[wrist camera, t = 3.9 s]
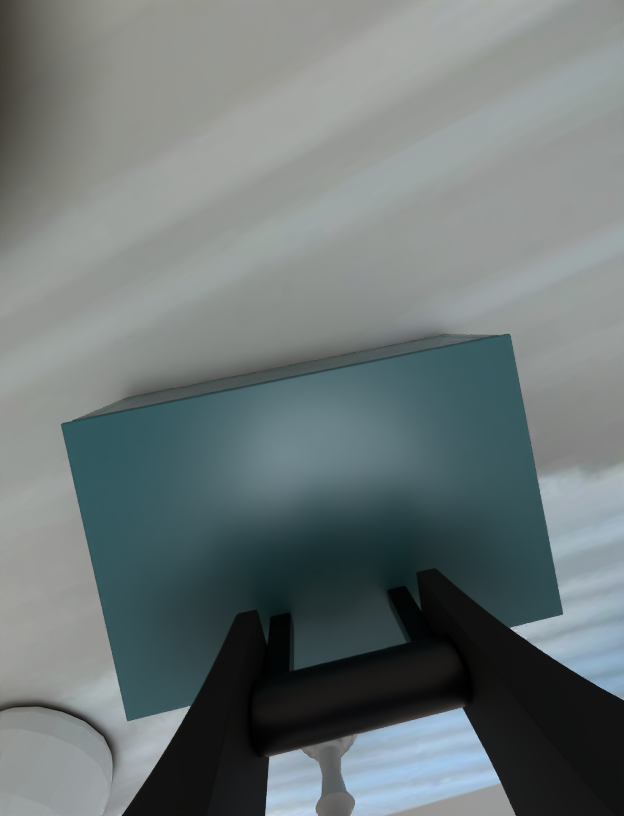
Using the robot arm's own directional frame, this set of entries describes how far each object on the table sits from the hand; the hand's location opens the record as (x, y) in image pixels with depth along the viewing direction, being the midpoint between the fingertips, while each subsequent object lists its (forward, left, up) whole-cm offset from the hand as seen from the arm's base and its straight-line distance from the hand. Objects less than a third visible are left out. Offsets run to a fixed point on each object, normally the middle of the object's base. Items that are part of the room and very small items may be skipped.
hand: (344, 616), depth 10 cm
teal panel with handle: (+2, 0, -2) cm, 3 cm away
